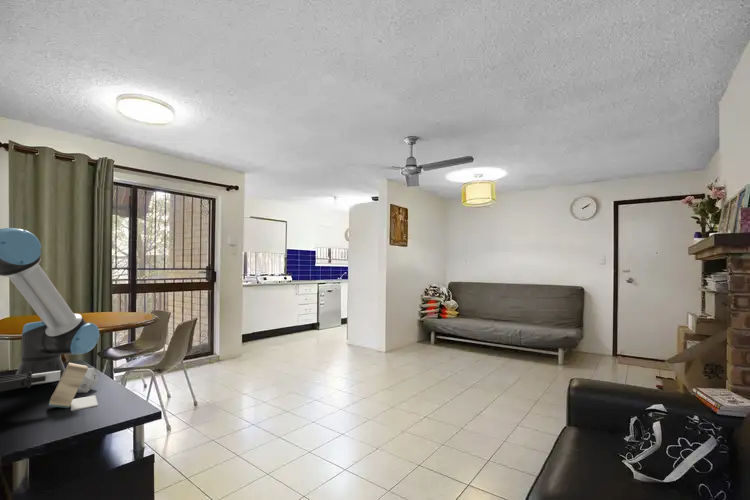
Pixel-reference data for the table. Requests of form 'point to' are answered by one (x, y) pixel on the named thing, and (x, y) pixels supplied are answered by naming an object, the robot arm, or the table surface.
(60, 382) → the block
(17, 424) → the table surface
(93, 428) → the table surface
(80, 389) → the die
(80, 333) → the robot arm
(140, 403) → the table surface
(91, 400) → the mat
